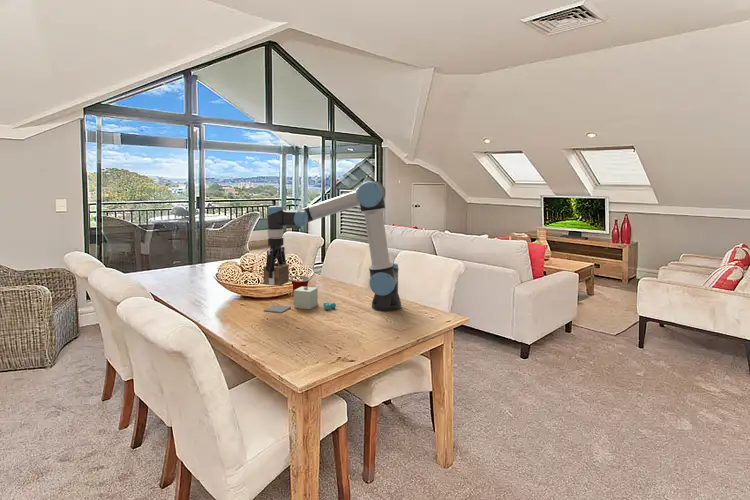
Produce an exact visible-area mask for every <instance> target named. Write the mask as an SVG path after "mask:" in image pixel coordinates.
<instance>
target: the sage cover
mask: <svg viewBox="0 0 750 500" xmlns="http://www.w3.org/2000/svg"><path fill="white" fill-rule="evenodd" d="M318 299H319V295H318V287H311V286H310V287H309V286H307V287H300V288H298V289H296V290H294V293H293V307H294V309H302V310H303V309H304V310H305V309H306V310H311V309H314V308H315V307H316V306H317V305H318V304H319V303H318V302H319V300H318Z"/></svg>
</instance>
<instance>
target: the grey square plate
mask: <svg viewBox="0 0 750 500" xmlns="http://www.w3.org/2000/svg"><path fill="white" fill-rule="evenodd" d="M291 308H292V306H291V305H290V306H289V305H279V304H278V305H277V304H272V305H271V306H269V307H267V308H265V309H263V312H268V313H269V312H270V313H277V314H278V313H279V314H282V313H284V312H286V311H287V310H290V309H291Z"/></svg>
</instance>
